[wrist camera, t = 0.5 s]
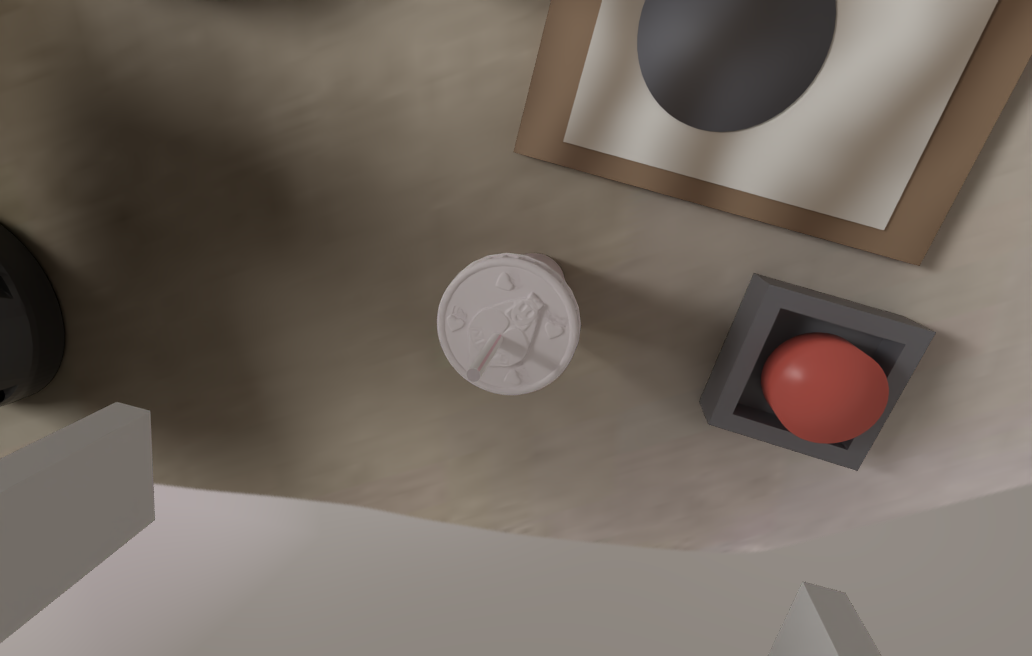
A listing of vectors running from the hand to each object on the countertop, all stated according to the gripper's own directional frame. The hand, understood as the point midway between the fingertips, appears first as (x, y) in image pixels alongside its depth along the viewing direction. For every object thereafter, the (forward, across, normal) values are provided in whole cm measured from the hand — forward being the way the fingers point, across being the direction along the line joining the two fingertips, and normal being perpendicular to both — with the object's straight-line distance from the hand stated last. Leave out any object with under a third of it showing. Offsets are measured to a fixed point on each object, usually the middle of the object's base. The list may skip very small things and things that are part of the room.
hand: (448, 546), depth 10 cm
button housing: (+22, +15, -1) cm, 27 cm away
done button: (+20, +15, -1) cm, 25 cm away
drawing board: (+22, +8, +15) cm, 28 cm away
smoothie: (+23, -1, 0) cm, 23 cm away
